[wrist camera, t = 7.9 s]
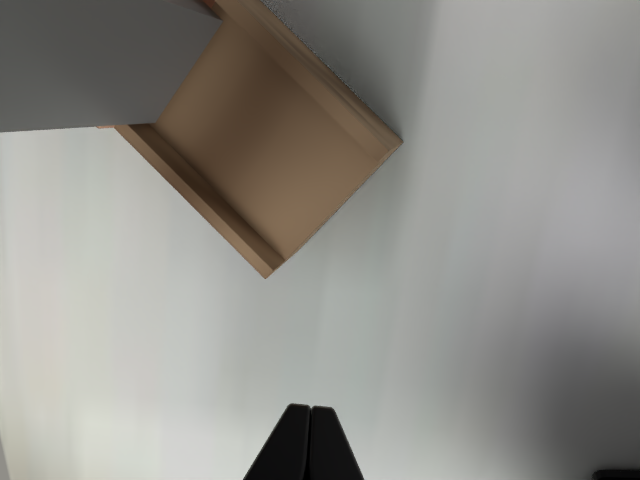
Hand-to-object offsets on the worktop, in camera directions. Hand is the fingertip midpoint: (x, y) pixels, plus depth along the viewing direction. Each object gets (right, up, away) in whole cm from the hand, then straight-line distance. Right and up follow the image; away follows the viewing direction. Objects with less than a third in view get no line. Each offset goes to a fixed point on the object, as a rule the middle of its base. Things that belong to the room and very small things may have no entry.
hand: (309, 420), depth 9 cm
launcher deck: (-1, +8, +11) cm, 13 cm away
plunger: (-5, +10, +8) cm, 14 cm away
